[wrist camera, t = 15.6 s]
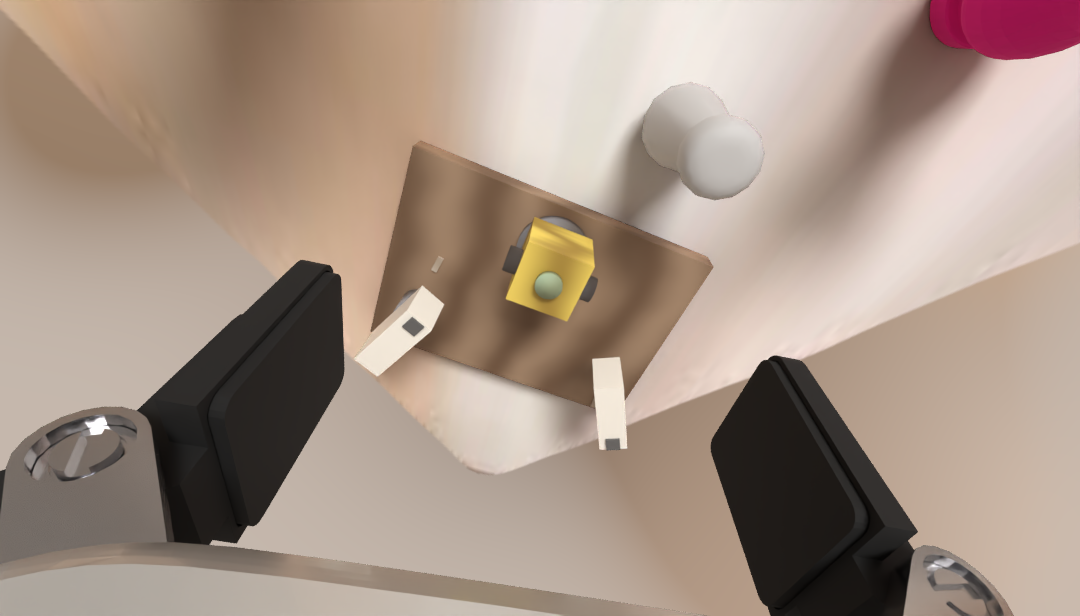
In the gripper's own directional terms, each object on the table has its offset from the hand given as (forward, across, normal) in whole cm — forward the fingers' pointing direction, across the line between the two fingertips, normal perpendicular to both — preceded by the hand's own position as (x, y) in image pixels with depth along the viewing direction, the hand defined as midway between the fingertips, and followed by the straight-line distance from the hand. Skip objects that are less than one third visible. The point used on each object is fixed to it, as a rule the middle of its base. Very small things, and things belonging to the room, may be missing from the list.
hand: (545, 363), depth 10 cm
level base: (+29, -1, +16) cm, 33 cm away
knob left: (+27, +9, +18) cm, 34 cm away
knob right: (+26, -10, +21) cm, 35 cm away
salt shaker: (+29, -9, -1) cm, 31 cm away
